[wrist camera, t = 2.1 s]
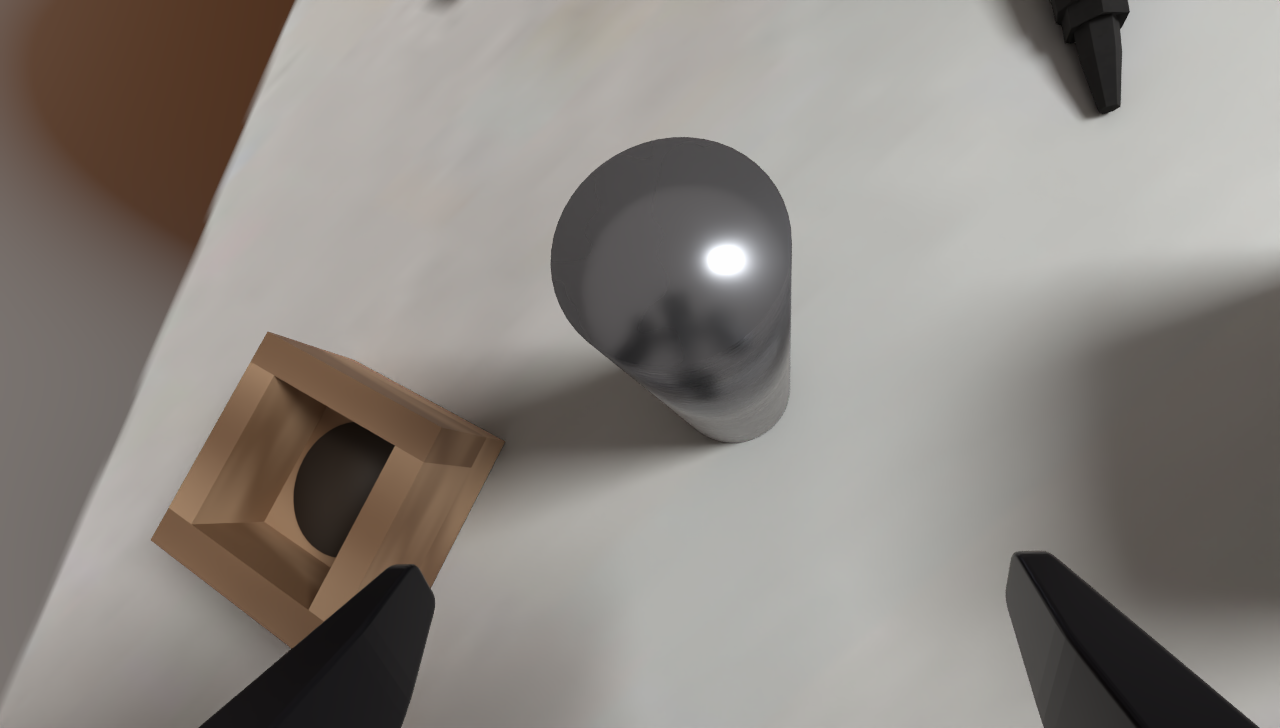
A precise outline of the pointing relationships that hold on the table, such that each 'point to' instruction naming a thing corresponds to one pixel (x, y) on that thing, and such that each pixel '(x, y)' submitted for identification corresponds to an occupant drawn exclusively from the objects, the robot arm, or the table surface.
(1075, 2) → the microphone
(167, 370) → the table surface
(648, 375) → the pin
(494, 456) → the socket block
